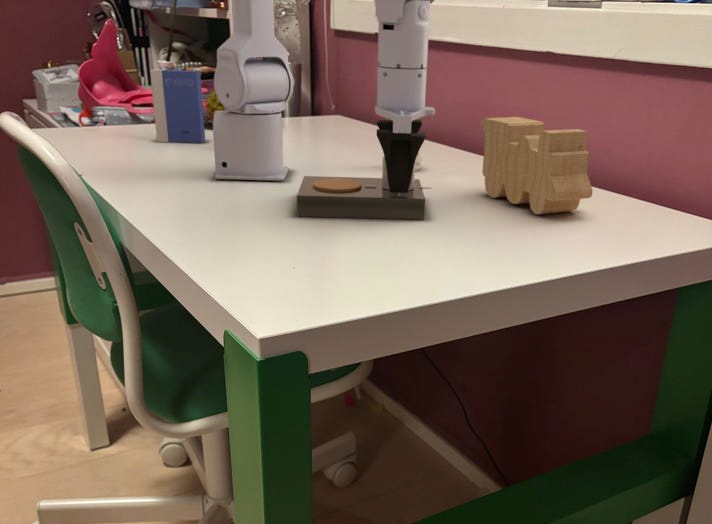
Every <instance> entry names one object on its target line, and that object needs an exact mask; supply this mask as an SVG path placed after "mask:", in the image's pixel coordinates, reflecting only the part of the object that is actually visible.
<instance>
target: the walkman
mask: <svg viewBox="0 0 712 524" xmlns="http://www.w3.org/2000/svg"><path fill="white" fill-rule="evenodd" d="M149 74H150V82H151V85H150V86H151V93H152V94H151V95H152V105H153V114H154V123H155V124H154V125H155V134H156V142H161V143H187V144H188V143H195V144H202V143H204V142H205V141H206V132H205V131H206V130H205V125H204V118H205V117H204V107H203V106H204V105H203V93H202V91H203V89H202V78H201V70H195V68H194V67H193V68H191V67H187V68H185V69H161V68H154V69H150V70H149Z"/></svg>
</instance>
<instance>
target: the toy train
mask: <svg viewBox="0 0 712 524" xmlns="http://www.w3.org/2000/svg"><path fill="white" fill-rule="evenodd" d="M481 129H482V131H483V134H484V136H485V137H484V148H483V150H484V151H483V159H482V170H481V171H482V172H481V173H482V176H483V177H484V187H485V191H486V193H487V195H488V197H490V198H493V199H496V198H497V199H498V198H507V200H508V202H509V203H510V204H513V205H518V204H528V203H529V207H530V210H531V211H532V212H533V214H535V215H547V214H557V213H566V212H574V211H575V210H577V209H578V207H579V205H580V203H581V200H582V199H583V200H584V199H585V200H586V199H591V198H592V196H593V187H592V184H591V181H590V179H589V175H588V165H589V158H590V152H589V151H587V150H586V144H587V143H586V142H587V135H588V131H587V130H583V129H579V128H575V129H574V128H573V129H552V130H551V129H550V130H548V129H547V130H545V124H544V122H543V121H539V120H536V119H531V118H526V117H522V116H521V117H520V116H510V117H508V116H507V117H484V118H483V119H482V121H481Z"/></svg>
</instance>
